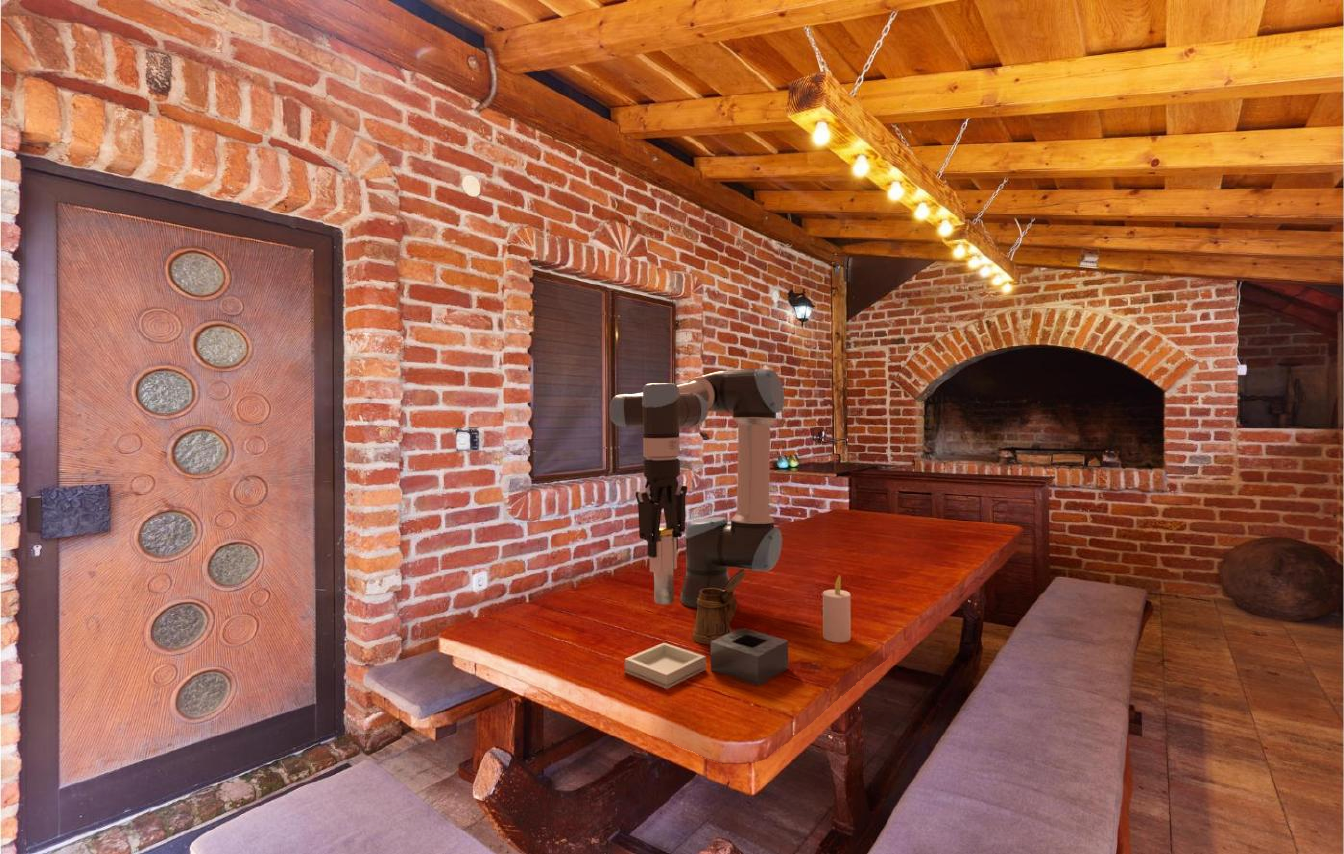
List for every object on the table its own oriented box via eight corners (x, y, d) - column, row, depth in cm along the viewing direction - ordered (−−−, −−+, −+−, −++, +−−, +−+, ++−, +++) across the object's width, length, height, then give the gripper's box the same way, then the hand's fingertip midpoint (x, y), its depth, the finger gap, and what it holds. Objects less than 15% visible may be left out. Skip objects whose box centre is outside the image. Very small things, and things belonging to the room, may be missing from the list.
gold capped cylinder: (650, 601, 135) (649, 529, 134) (663, 597, 138) (662, 526, 137) (664, 605, 132) (663, 531, 131) (677, 600, 135) (676, 528, 134)
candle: (826, 630, 157) (825, 569, 156) (853, 634, 154) (852, 572, 153) (819, 639, 151) (818, 576, 151) (847, 643, 148) (847, 579, 148)
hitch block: (710, 669, 136) (710, 641, 135) (742, 654, 144) (741, 627, 143) (758, 686, 127) (757, 656, 127) (788, 668, 135) (788, 640, 135)
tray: (625, 672, 135) (624, 659, 135) (664, 654, 144) (663, 642, 144) (666, 688, 127) (666, 674, 127) (705, 669, 136) (705, 656, 136)
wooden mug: (733, 652, 145) (732, 573, 144) (685, 639, 153) (684, 564, 152) (754, 640, 151) (753, 564, 151) (707, 628, 160) (706, 556, 159)
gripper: (645, 462, 125) (647, 582, 126) (702, 455, 137) (703, 564, 138) (618, 460, 130) (621, 575, 131) (675, 454, 142) (677, 559, 143)
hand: (663, 569), depth 134 cm, fingers closed on gold capped cylinder, 4 cm apart
